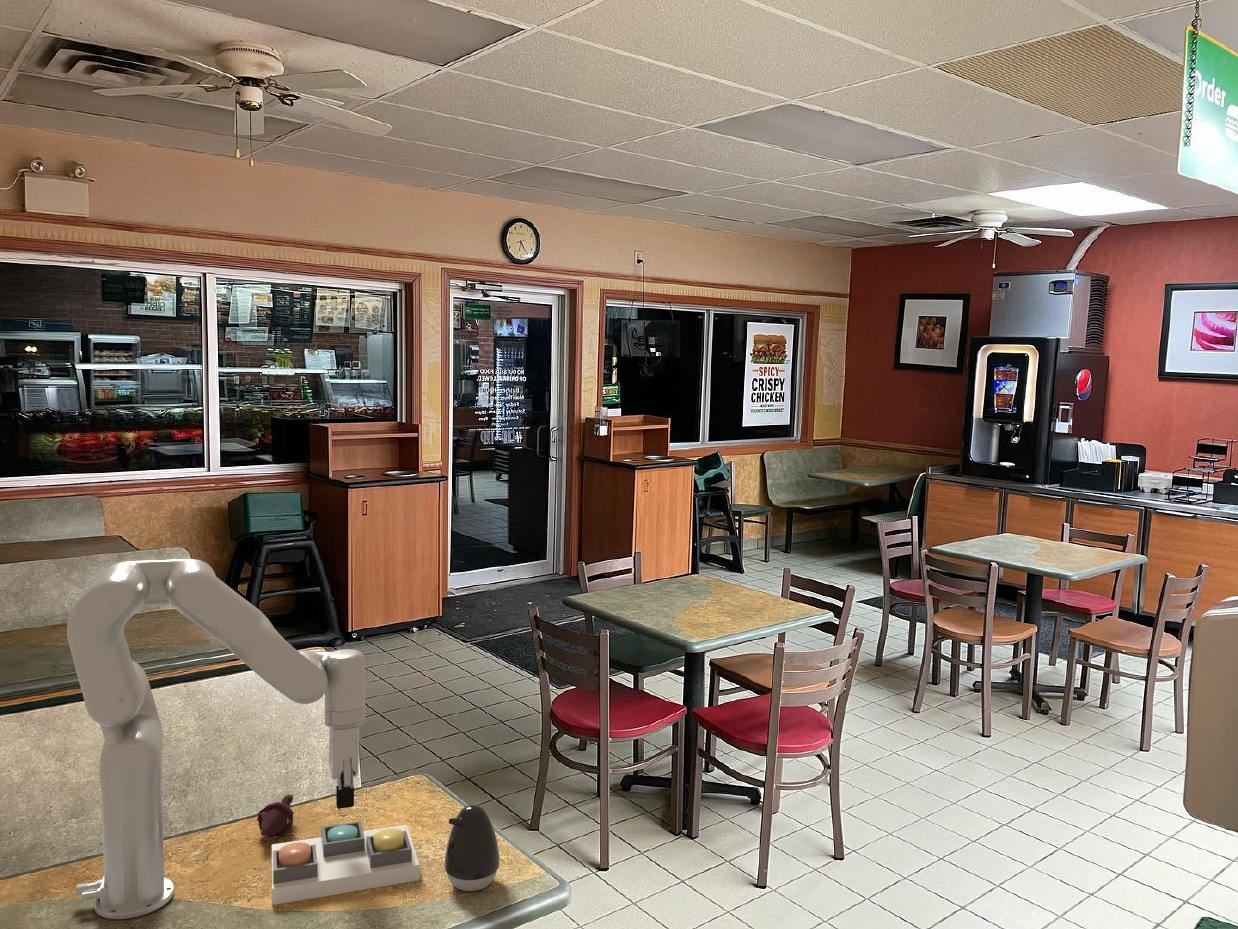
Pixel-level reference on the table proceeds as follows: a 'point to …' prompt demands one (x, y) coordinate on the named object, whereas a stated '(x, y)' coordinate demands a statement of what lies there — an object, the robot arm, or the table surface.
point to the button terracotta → (294, 855)
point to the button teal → (342, 833)
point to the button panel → (343, 866)
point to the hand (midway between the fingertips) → (345, 806)
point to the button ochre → (388, 840)
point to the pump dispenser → (472, 850)
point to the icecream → (276, 818)
